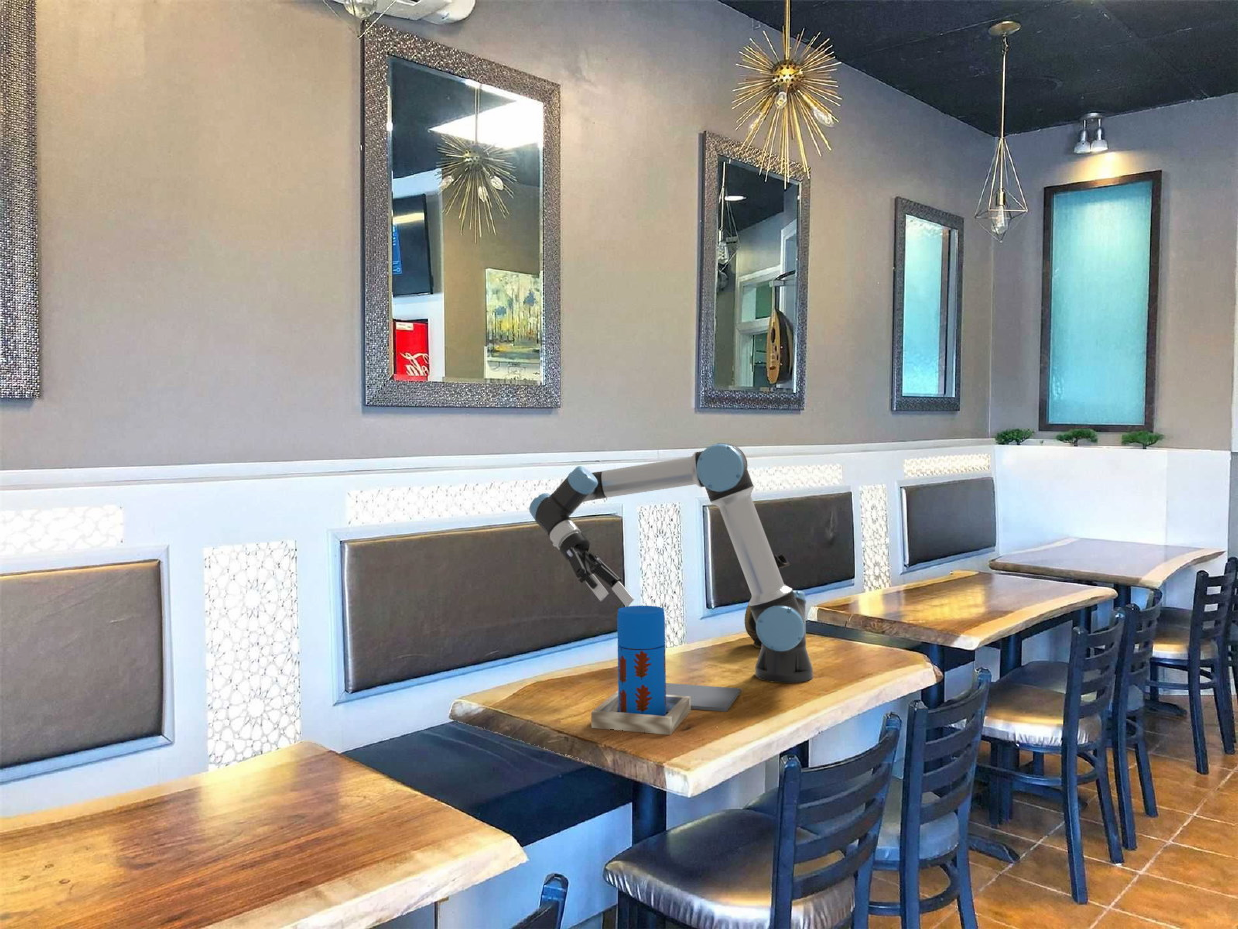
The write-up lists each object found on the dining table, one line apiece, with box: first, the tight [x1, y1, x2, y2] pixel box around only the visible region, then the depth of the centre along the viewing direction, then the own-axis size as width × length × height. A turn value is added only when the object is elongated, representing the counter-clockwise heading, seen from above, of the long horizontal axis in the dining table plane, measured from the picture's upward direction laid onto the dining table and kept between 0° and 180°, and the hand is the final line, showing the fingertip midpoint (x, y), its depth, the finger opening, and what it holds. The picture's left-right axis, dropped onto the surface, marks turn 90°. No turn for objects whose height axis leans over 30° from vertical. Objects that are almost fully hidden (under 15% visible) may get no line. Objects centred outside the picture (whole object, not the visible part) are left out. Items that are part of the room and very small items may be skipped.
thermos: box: [616, 605, 667, 716], centre depth 208 cm, size 11×11×25 cm
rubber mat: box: [666, 682, 742, 712], centre depth 225 cm, size 20×18×1 cm
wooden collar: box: [590, 690, 692, 736], centre depth 208 cm, size 18×18×4 cm
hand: (617, 600), depth 228 cm, fingers open, 13 cm apart
